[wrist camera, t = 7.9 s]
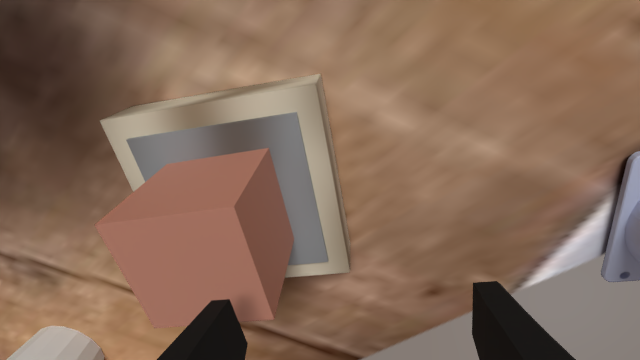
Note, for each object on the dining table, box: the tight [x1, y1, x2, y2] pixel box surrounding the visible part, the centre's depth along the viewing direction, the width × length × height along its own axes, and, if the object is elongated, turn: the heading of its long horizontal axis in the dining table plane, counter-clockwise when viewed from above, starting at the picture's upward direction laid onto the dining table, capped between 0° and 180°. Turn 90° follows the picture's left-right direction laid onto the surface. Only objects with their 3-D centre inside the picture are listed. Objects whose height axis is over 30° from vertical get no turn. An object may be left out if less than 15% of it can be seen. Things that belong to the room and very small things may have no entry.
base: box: [100, 74, 350, 278], centre depth 18 cm, size 10×10×3 cm
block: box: [95, 148, 294, 328], centre depth 14 cm, size 5×5×5 cm
